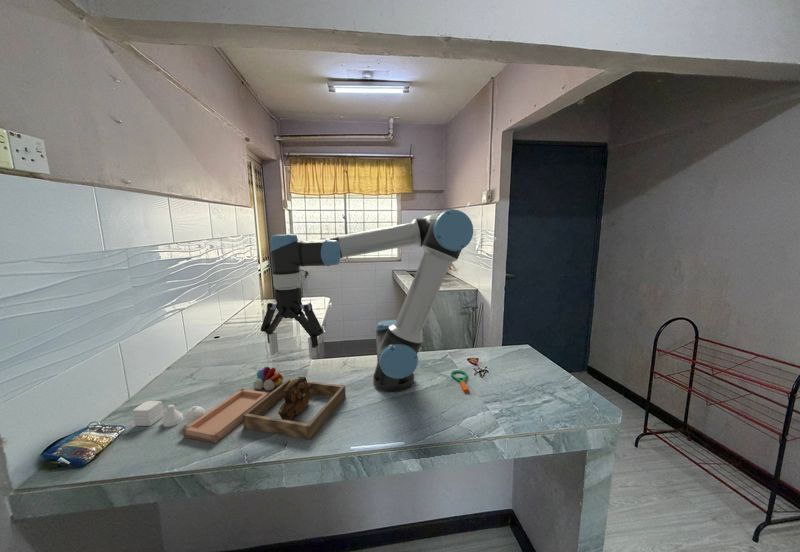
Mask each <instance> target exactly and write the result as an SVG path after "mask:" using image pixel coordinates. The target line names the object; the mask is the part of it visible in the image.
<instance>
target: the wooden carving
mask: <svg viewBox="0 0 800 552" xmlns="http://www.w3.org/2000/svg"><path fill="white" fill-rule="evenodd" d="M292 379H293V378H292ZM307 381H308V380H307V378H306V377H305V376H298V378H294V379H293V380H291V381H290V382H289V383H288V385H287V387H286V389H285V390H283V398H282V399H283V400H284V402H283V404H281V405H280V407H279V410H278V412H277V414H278V415H279V416H280V419H283V420H289V421H292V419H293V417H294V415H299V414H301V412H303V411H304V410H305V409H306V407H307V406H308V403H310V402H309V401H310V399H311V396H312V394H311V392H310V389H311V387H312V384H307Z"/></svg>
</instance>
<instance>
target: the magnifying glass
mask: <svg viewBox="0 0 800 552" xmlns="http://www.w3.org/2000/svg"><path fill="white" fill-rule="evenodd" d="M456 374H460V375H464V376H463V377H462V376H461V377H458V376H454V375H456ZM450 377H451V378H452V379H453V380H455V381H456V382H457V383H459V384H460V387H461V389H462V391H463V393H465V394H468V393H469V392H470V389H469V387H468V385H467V384H466V381H467V379H468V374H467V372H465V371H464V370H457V369H456V370H452V371H451V373H450Z"/></svg>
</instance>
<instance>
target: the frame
mask: <svg viewBox="0 0 800 552" xmlns="http://www.w3.org/2000/svg"><path fill="white" fill-rule="evenodd" d="M291 380H293V378H288V379H286V380H285V381H283V383H281V384H279V385H278V386H276V388H275V389H273V390H271V392H269V395H267V396H266V397H265V398H263V399H262V400H261V401H260V402H258V403H257V404H256V405H254V406H253V407H252V408H251V409H249V410H248V411H247V412H245V413H244V414H243V415H242V418H243V422H242V426H243V428H244V429H250V430H254V431H255V430H256V431H260V432H267V433H272V434H276V435H282V436H286V437H293V438H298V439H299V438H300V439H303V440H309V441H311V440H312V439H313V438H314V436H315V435H316V434H317V433H318V432H319V430H320V429H322V427H323V425H324V424H325V423H326V422H327V420H328V419H329V418H330V417H331V416H332V414H333V413H334V412H335V411H336V409H337V408H338V407H339V406H340V405H341V403H342V402H343V401H344V400H345V398H346V397H347V396H346V394H347V393H346V385H342V384H335V383H334V384H332V383H325V382H316V381H310V380H307V384H312V387H311V389H310V392H311V395H317V396H324V397H330V399H329V400H328V401H327V402H326V403H325V405H324V406H322V407H321V409H320V410H319V411H318V412H317V413H316V414H315V416H313V418H312V419H311V420H310V421H309V422H308V423H306V422H299V421H294V420H291V421H289V420H283V419H282V418H277V417H276V418H275V417H270V416H265V415H264V414H265V413H266V412H268V411H269V410H270V409H271V408H272V407H273V406H275V405H276V403H278V402H279V401H280V400H281V399H284V398H283V390H285V389H286V387H287V385H288V383H289V382H290V381H291ZM263 415H264V416H263Z"/></svg>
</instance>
